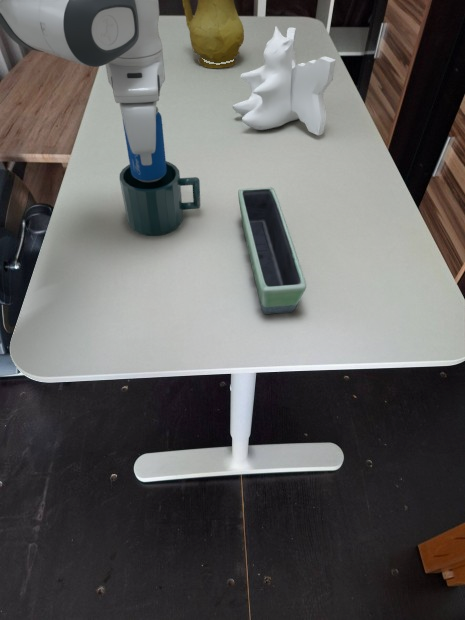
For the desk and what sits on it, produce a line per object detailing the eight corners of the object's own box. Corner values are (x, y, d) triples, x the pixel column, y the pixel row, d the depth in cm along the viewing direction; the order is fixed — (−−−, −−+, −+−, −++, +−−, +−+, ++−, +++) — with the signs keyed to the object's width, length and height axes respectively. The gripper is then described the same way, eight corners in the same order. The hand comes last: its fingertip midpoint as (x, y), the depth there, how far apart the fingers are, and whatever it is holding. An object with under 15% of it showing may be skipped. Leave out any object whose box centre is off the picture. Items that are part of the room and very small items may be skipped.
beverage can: (124, 178, 82) (113, 113, 73) (145, 162, 86) (136, 98, 77) (153, 188, 80) (145, 122, 71) (173, 171, 84) (168, 107, 75)
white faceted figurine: (222, 107, 125) (222, 19, 109) (292, 98, 130) (302, 13, 114) (253, 150, 109) (258, 55, 93) (331, 138, 114) (348, 46, 98)
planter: (236, 219, 90) (237, 188, 85) (271, 216, 91) (274, 186, 86) (258, 321, 72) (261, 290, 67) (301, 317, 73) (308, 286, 68)
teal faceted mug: (127, 238, 86) (118, 193, 78) (128, 204, 93) (120, 160, 86) (203, 232, 87) (202, 187, 80) (198, 199, 95) (196, 156, 87)
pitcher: (214, 74, 139) (212, -25, 122) (178, 61, 149) (172, -33, 132) (254, 64, 147) (257, -31, 130) (218, 51, 157) (216, -38, 140)
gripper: (116, 46, 75) (128, 125, 86) (112, 96, 62) (128, 184, 72) (153, 45, 76) (161, 124, 86) (158, 94, 63) (167, 181, 73)
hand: (146, 152), depth 79 cm, fingers closed on beverage can, 6 cm apart
